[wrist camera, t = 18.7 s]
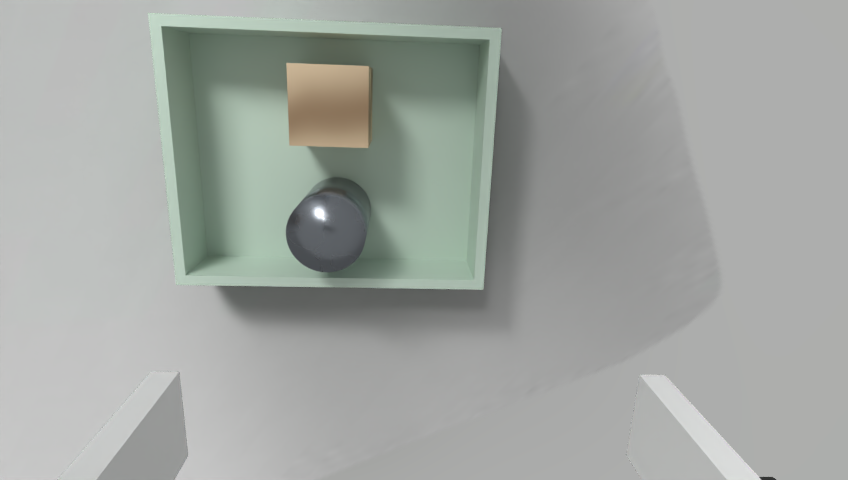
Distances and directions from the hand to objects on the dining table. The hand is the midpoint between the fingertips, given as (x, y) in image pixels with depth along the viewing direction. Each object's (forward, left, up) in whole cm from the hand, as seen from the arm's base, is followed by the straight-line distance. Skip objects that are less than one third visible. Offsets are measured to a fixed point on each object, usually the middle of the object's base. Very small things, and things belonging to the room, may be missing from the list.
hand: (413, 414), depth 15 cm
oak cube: (-8, -5, -26) cm, 28 cm away
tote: (-4, -5, -27) cm, 27 cm away
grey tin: (0, -5, -26) cm, 27 cm away
